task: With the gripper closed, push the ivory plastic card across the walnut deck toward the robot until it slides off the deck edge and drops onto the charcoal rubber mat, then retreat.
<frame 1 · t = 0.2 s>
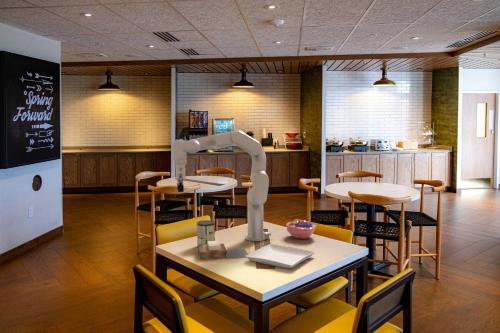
hand: (180, 190, 250), 31 cm above the table, fingers open, 9 cm apart
coffee can: (206, 246, 246), on the table
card: (214, 247, 229), point 4 cm above the table, touching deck
cell model: (300, 237, 265), on the table
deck: (212, 255, 229), on the table
square plate: (280, 260, 222), on the table
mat: (237, 253, 232), on the table
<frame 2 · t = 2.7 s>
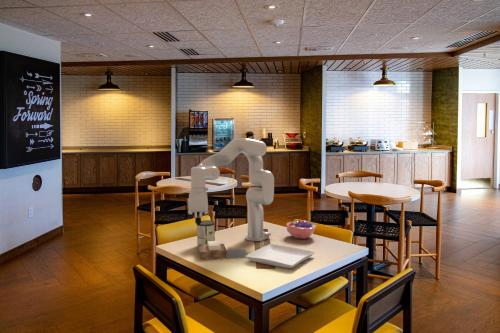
hand: (198, 224, 226), 17 cm above the table, fingers closed
nothing on the table moved.
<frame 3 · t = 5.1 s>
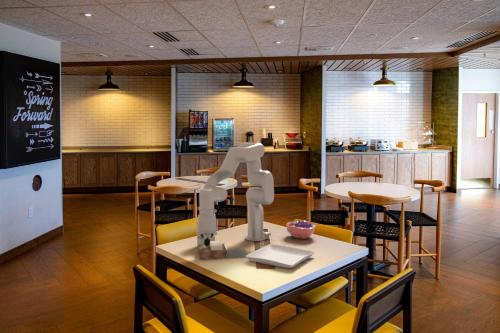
hand: (207, 246, 228), 5 cm above the table, fingers closed
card: (215, 247, 229), point 4 cm above the table, touching gripper
everything else where it was.
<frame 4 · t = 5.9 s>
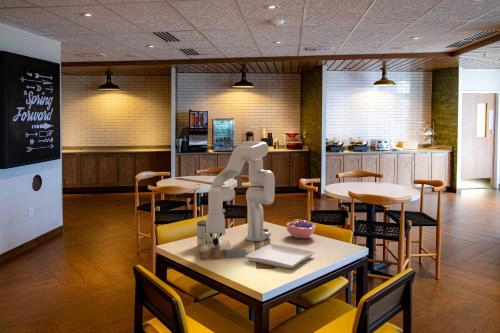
hand: (215, 245, 229), 5 cm above the table, fingers closed
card: (224, 247, 230), point 4 cm above the table, touching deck, gripper
everything else where it was.
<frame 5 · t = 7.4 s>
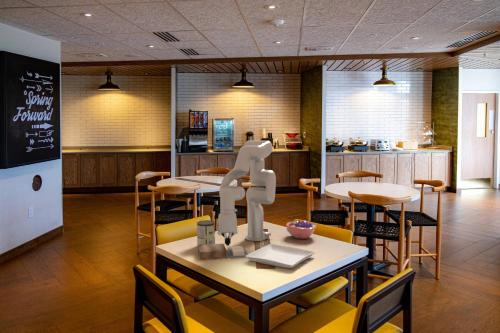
hand: (227, 245, 230), 5 cm above the table, fingers closed
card: (237, 248, 231), point 3 cm above the table, tilted 180°, touching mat
everything else where it was.
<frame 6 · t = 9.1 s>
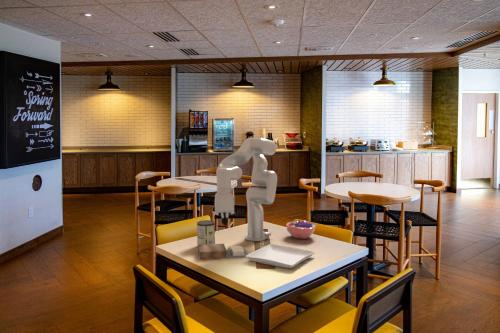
hand: (224, 224, 229), 16 cm above the table, fingers closed
nothing on the table moved.
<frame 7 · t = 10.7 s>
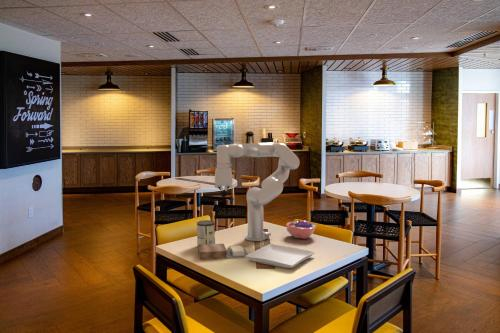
hand: (223, 197, 251), 27 cm above the table, fingers closed
nothing on the table moved.
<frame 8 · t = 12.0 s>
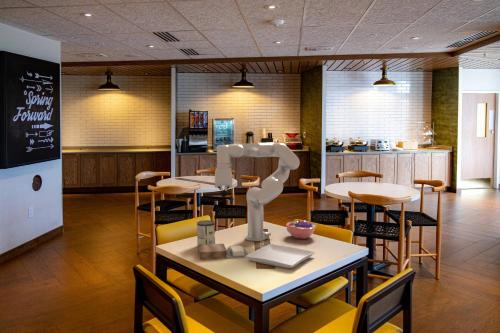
hand: (223, 197, 251), 27 cm above the table, fingers closed
nothing on the table moved.
at the end: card point 2.7 cm above the table; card inside the target area on the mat (0.2 cm from its centre), point 2.7 cm above the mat's base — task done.
